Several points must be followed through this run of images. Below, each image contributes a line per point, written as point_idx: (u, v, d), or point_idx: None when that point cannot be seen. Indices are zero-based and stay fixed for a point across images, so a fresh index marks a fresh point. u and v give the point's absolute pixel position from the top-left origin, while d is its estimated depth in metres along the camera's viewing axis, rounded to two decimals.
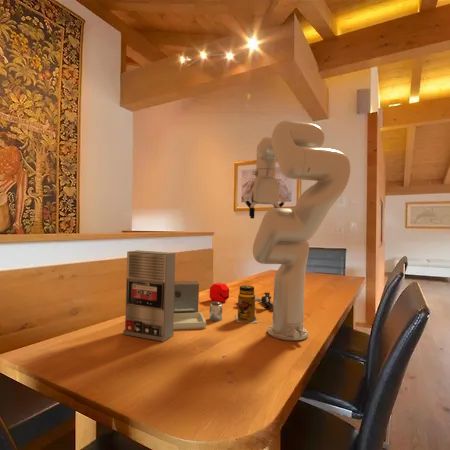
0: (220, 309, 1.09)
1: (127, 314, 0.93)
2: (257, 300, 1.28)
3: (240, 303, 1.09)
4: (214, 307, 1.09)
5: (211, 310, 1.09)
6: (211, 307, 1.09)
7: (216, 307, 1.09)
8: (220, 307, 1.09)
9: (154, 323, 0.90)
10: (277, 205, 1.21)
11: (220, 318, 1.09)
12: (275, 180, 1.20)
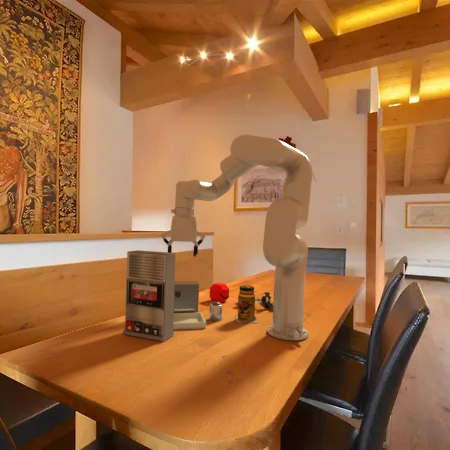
0: (220, 309, 1.09)
1: (127, 314, 0.93)
2: (257, 300, 1.28)
3: (240, 303, 1.09)
4: (214, 307, 1.09)
5: (211, 310, 1.09)
6: (211, 307, 1.09)
7: (216, 307, 1.09)
8: (220, 307, 1.09)
9: (154, 323, 0.90)
10: (195, 243, 1.23)
11: (220, 318, 1.09)
12: (192, 218, 1.21)
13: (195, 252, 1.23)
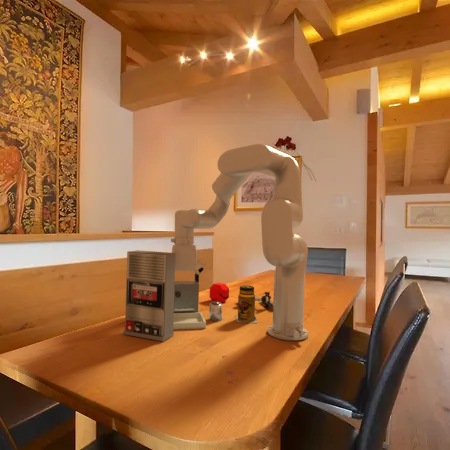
0: (220, 309, 1.09)
1: (127, 314, 0.93)
2: (257, 299, 1.28)
3: (240, 303, 1.09)
4: (214, 307, 1.09)
5: (211, 310, 1.09)
6: (211, 307, 1.09)
7: (216, 307, 1.09)
8: (220, 307, 1.09)
9: (154, 323, 0.90)
10: (196, 271, 1.22)
11: (220, 318, 1.10)
12: (192, 247, 1.21)
13: (196, 280, 1.22)
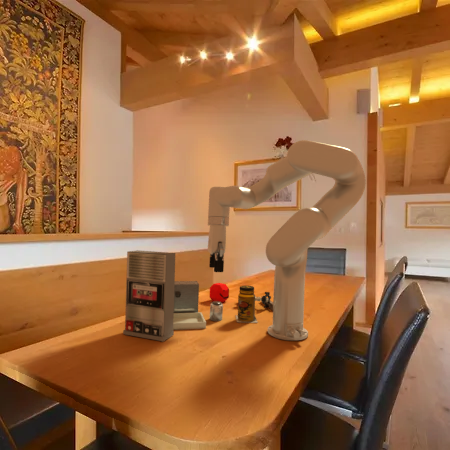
0: (221, 309, 1.09)
1: (127, 314, 0.93)
2: (257, 299, 1.28)
3: (240, 303, 1.09)
4: (216, 307, 1.08)
5: (212, 310, 1.09)
6: (212, 307, 1.09)
7: (218, 307, 1.09)
8: (221, 307, 1.09)
9: (154, 323, 0.90)
10: (215, 256, 1.06)
11: (221, 318, 1.10)
12: (212, 228, 1.07)
13: (214, 267, 1.06)
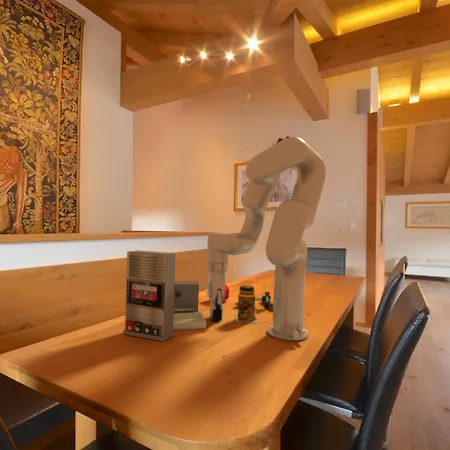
0: (222, 308, 1.10)
1: (127, 314, 0.93)
2: (257, 299, 1.28)
3: (240, 303, 1.09)
4: None
5: None
6: (213, 307, 1.09)
7: None
8: (222, 306, 1.10)
9: (154, 323, 0.90)
10: None
11: None
12: (211, 274, 1.07)
13: None
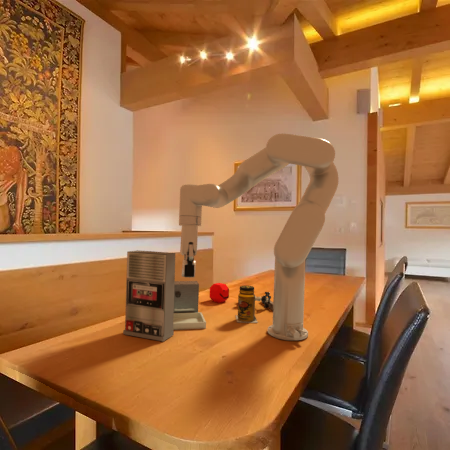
0: (194, 265, 1.04)
1: (127, 314, 0.93)
2: (257, 299, 1.28)
3: (240, 303, 1.09)
4: None
5: None
6: (185, 263, 1.03)
7: None
8: (194, 263, 1.04)
9: (154, 323, 0.90)
10: None
11: (194, 274, 1.04)
12: (183, 228, 1.01)
13: (184, 271, 1.02)
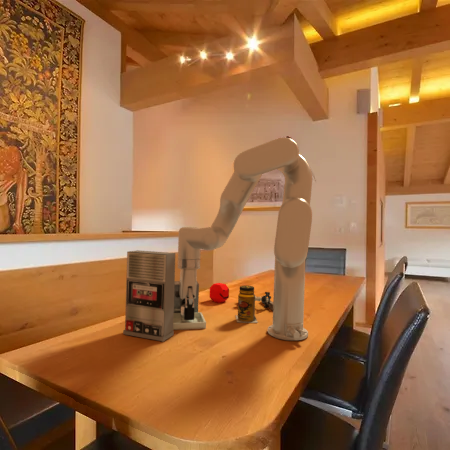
0: None
1: (127, 314, 0.93)
2: (257, 299, 1.28)
3: (240, 303, 1.09)
4: None
5: (183, 313, 1.04)
6: (183, 309, 1.04)
7: None
8: None
9: (154, 323, 0.90)
10: (185, 303, 1.01)
11: (193, 320, 1.05)
12: (182, 271, 1.01)
13: (184, 314, 1.01)
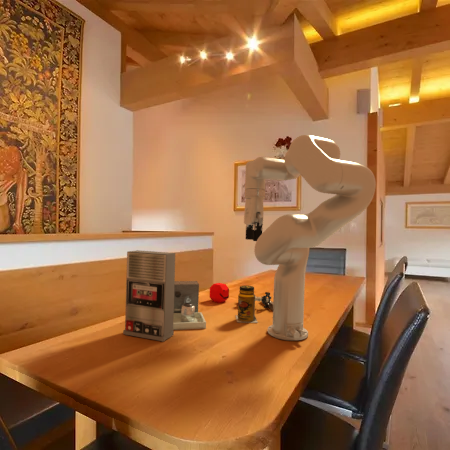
0: (194, 310, 1.05)
1: (127, 314, 0.93)
2: (257, 299, 1.28)
3: (240, 303, 1.09)
4: (189, 309, 1.04)
5: (185, 312, 1.04)
6: (185, 309, 1.04)
7: (191, 309, 1.04)
8: (194, 308, 1.05)
9: (154, 323, 0.90)
10: (254, 226, 1.11)
11: (193, 320, 1.05)
12: (250, 199, 1.13)
13: (253, 236, 1.11)
